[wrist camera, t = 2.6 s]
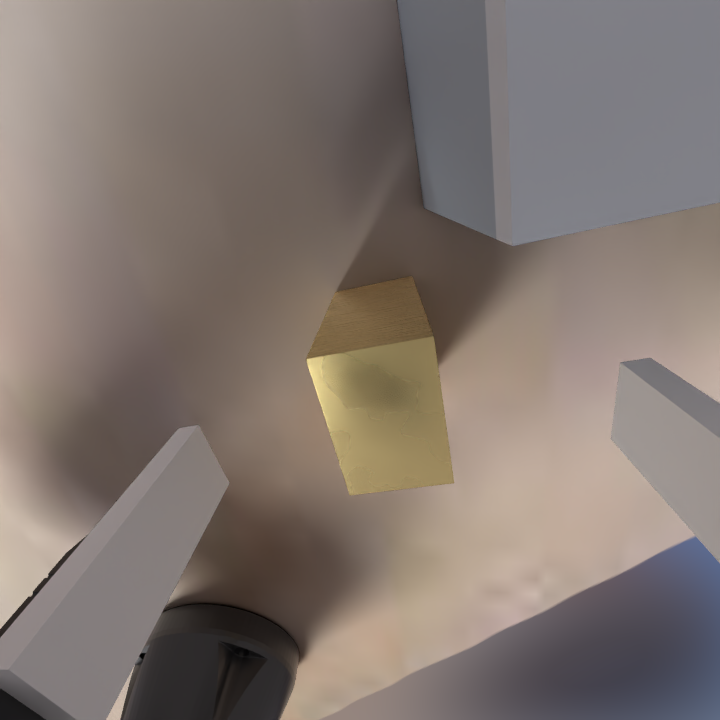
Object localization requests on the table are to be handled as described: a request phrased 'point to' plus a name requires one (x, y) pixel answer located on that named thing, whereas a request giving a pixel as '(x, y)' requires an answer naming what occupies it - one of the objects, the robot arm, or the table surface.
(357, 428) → the gold rectangular block
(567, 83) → the grey box with hole
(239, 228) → the table surface
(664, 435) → the robot arm
